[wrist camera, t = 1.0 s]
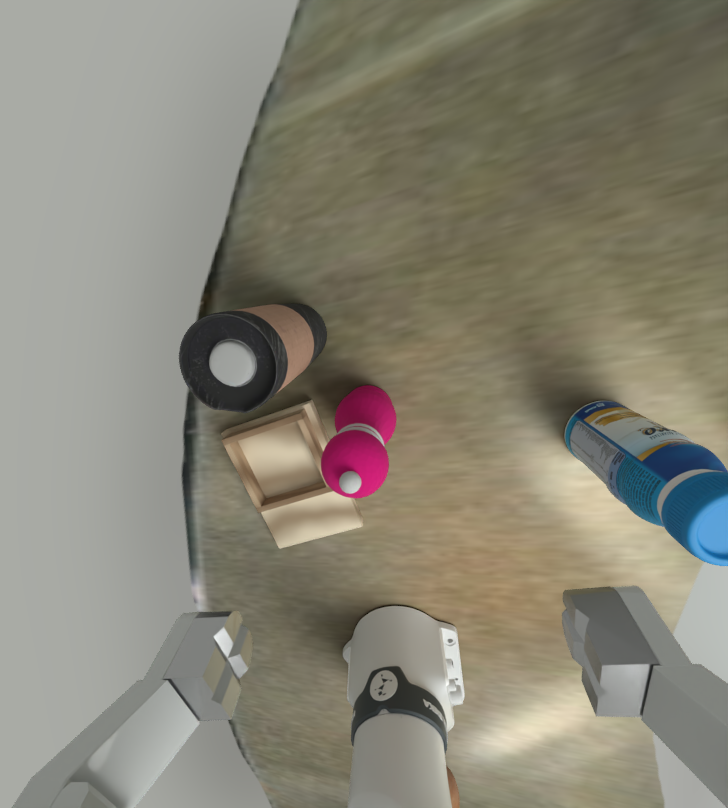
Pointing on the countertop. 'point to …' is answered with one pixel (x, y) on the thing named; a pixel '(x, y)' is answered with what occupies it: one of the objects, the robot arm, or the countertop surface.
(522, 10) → the countertop surface
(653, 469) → the beverage bottle
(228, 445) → the mill holder
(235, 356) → the travel mug
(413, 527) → the countertop surface
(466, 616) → the countertop surface
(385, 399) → the pepper mill
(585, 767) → the countertop surface
